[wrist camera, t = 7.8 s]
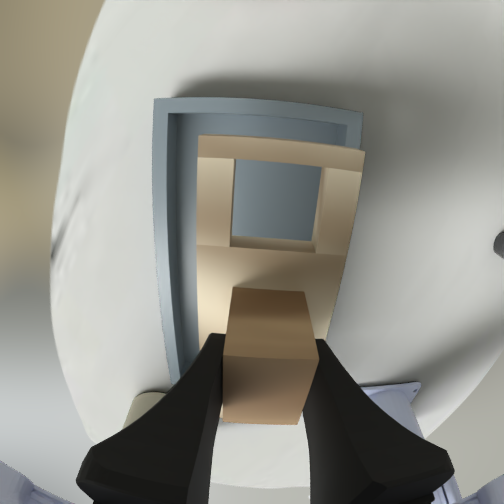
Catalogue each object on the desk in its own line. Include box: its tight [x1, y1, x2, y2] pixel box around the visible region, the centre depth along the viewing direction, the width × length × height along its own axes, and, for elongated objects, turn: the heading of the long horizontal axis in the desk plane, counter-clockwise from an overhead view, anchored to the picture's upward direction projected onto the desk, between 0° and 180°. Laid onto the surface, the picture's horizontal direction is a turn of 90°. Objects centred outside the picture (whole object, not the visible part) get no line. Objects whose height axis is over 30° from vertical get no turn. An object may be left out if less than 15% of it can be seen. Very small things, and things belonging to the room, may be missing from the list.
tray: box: [152, 97, 363, 384], centre depth 18 cm, size 20×11×2 cm, turn 176°
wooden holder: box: [196, 134, 365, 425], centre depth 12 cm, size 16×6×5 cm, turn 176°
